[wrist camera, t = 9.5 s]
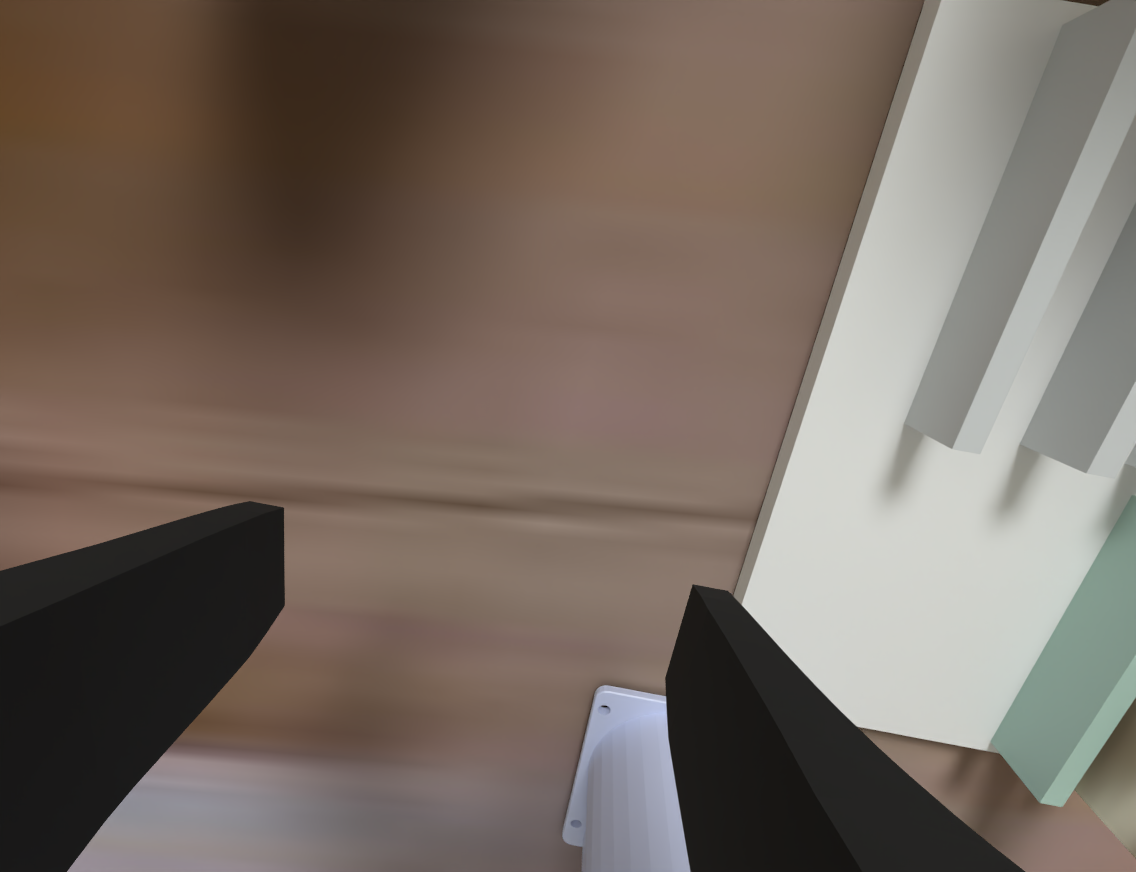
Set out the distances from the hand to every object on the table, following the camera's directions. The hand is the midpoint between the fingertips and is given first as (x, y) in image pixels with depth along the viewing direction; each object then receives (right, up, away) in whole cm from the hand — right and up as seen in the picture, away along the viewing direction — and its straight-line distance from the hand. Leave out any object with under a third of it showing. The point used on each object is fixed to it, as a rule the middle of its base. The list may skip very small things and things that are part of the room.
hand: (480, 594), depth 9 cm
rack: (+18, +2, +9) cm, 20 cm away
